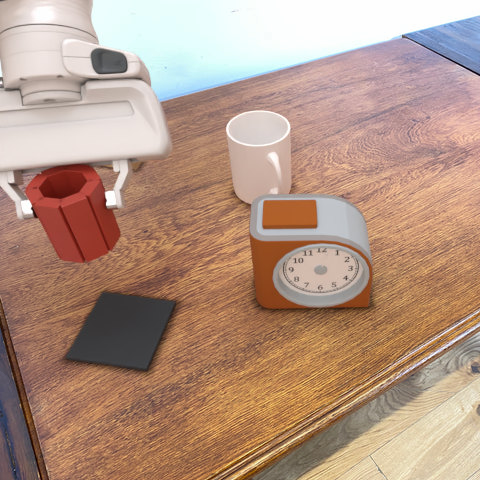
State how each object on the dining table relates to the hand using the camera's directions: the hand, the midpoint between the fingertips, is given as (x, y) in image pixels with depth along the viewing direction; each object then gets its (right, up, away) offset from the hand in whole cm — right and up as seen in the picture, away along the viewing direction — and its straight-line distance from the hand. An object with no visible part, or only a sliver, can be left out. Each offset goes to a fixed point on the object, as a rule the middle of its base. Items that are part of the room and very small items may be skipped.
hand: (74, 214), depth 50 cm
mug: (+16, +5, +33) cm, 37 cm away
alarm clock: (+23, -9, +20) cm, 32 cm away
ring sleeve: (0, -3, +3) cm, 4 cm away
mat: (0, -14, +14) cm, 20 cm away
